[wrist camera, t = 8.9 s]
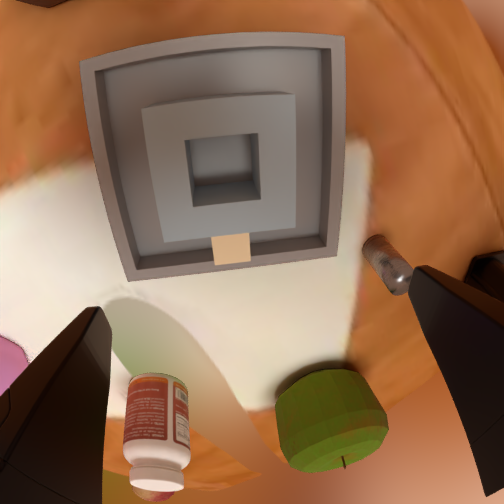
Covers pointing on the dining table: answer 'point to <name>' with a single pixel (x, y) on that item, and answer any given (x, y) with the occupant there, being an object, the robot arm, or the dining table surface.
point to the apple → (329, 420)
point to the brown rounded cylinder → (388, 264)
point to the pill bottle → (157, 432)
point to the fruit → (152, 494)
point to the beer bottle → (43, 2)
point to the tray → (218, 140)
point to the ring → (226, 194)
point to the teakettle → (10, 363)
